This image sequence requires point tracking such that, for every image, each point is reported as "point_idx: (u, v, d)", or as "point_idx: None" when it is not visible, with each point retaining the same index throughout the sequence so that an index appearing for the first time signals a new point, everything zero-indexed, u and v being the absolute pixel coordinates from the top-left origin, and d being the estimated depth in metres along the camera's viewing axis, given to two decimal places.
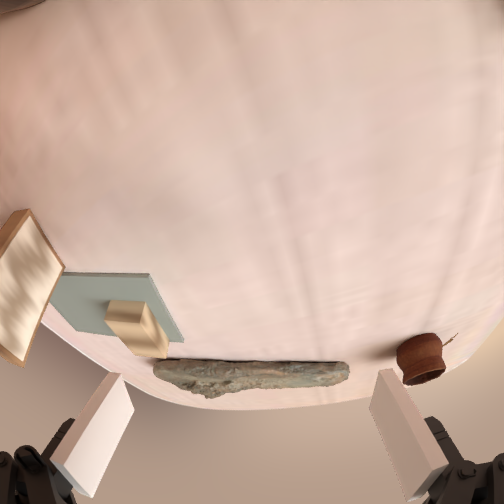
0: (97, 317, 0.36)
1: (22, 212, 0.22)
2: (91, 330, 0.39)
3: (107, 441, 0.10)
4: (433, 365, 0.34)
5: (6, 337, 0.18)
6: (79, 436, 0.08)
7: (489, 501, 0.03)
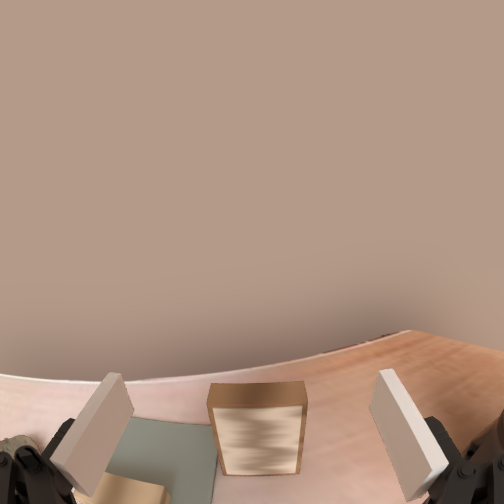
0: (142, 460, 0.27)
1: None
2: None
3: (107, 441, 0.10)
4: None
5: (247, 415, 0.23)
6: (79, 436, 0.08)
7: (489, 501, 0.03)
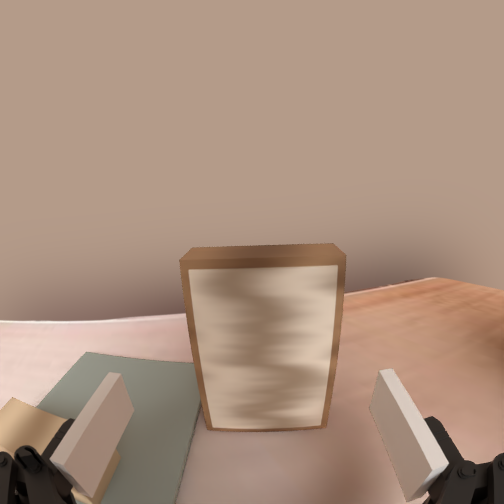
0: None
1: None
2: (75, 372, 0.23)
3: (107, 441, 0.10)
4: None
5: (246, 285, 0.15)
6: (79, 436, 0.08)
7: (489, 501, 0.03)
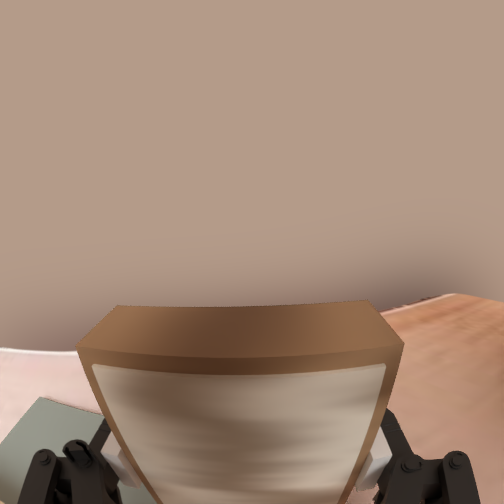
0: None
1: None
2: (25, 424, 0.14)
3: None
4: None
5: (199, 401, 0.07)
6: None
7: (445, 501, 0.04)
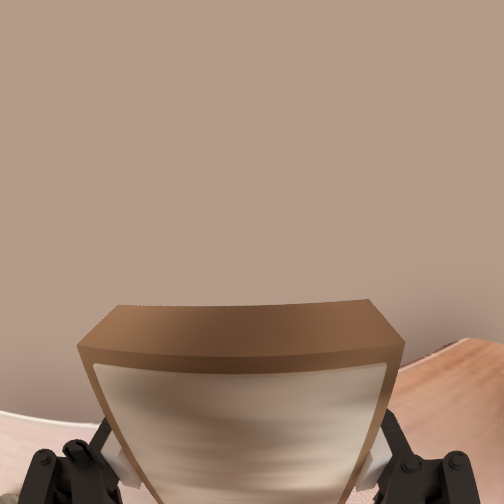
0: None
1: None
2: None
3: None
4: None
5: (200, 400, 0.07)
6: None
7: (445, 501, 0.04)
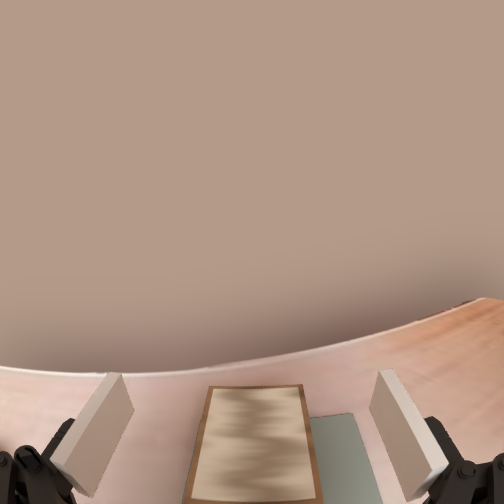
0: None
1: None
2: None
3: (106, 441, 0.10)
4: None
5: (245, 397, 0.24)
6: (79, 436, 0.08)
7: (489, 501, 0.03)
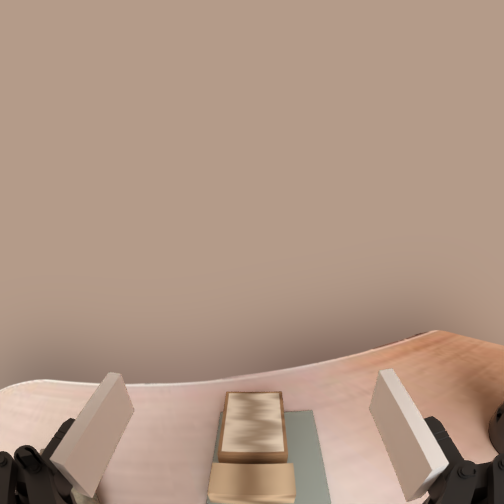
0: None
1: None
2: None
3: (107, 441, 0.10)
4: None
5: (247, 398, 0.41)
6: (79, 436, 0.08)
7: (489, 501, 0.03)
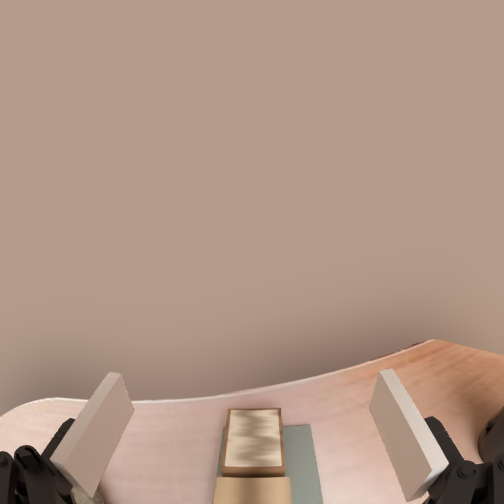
0: None
1: None
2: None
3: (107, 440, 0.10)
4: None
5: (248, 414, 0.42)
6: (79, 436, 0.08)
7: (489, 501, 0.03)
